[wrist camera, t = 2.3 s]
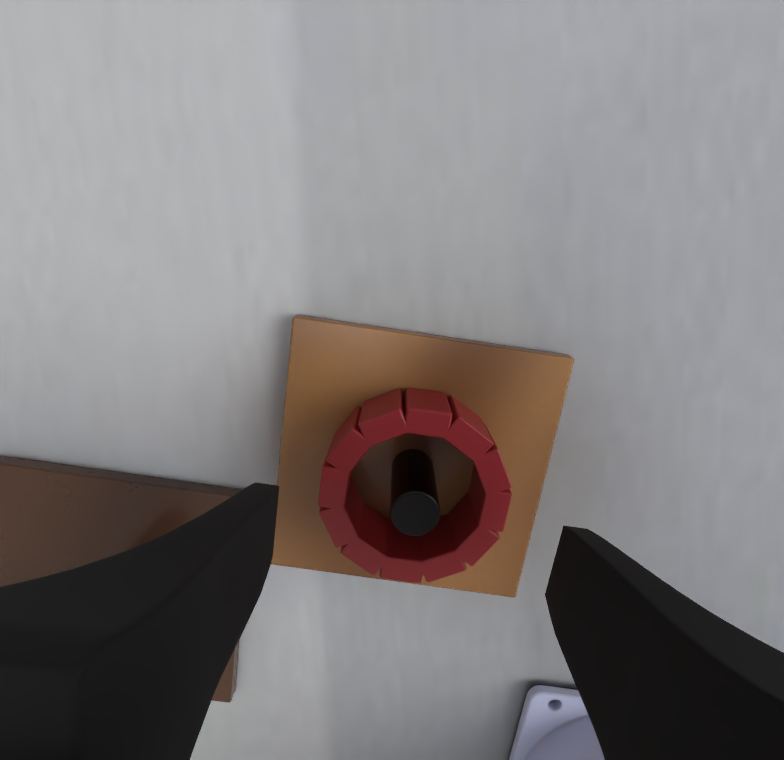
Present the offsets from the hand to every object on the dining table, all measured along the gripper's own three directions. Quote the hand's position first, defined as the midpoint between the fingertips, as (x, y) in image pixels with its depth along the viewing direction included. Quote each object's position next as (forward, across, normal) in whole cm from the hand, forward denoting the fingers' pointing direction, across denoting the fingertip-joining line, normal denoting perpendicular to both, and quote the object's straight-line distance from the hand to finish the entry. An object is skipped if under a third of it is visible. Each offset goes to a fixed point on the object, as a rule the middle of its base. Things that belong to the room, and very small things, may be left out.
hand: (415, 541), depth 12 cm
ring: (+4, 0, 0) cm, 4 cm away
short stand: (+5, 0, 0) cm, 5 cm away
